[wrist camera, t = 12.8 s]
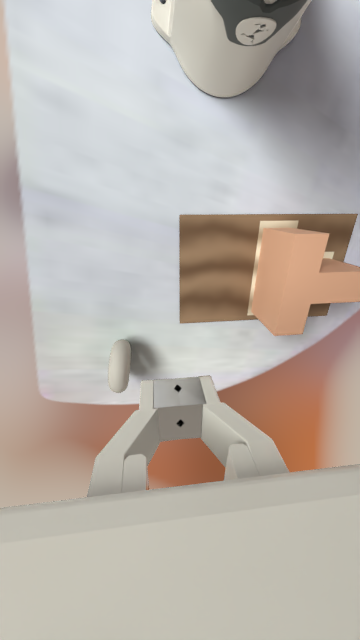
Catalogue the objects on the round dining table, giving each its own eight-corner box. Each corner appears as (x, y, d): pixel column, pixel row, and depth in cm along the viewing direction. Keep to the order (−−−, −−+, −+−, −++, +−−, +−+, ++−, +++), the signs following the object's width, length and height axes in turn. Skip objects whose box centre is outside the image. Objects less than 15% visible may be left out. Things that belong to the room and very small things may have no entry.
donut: (114, 329, 46) (106, 359, 37) (132, 330, 47) (127, 359, 38) (114, 370, 50) (106, 405, 41) (130, 370, 51) (126, 405, 42)
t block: (263, 227, 40) (295, 234, 32) (337, 227, 42) (388, 232, 33) (251, 311, 47) (274, 335, 39) (314, 308, 49) (351, 331, 40)
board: (179, 214, 38) (179, 214, 38) (356, 213, 42) (357, 213, 41) (179, 322, 47) (180, 323, 47) (325, 314, 50) (326, 315, 50)
